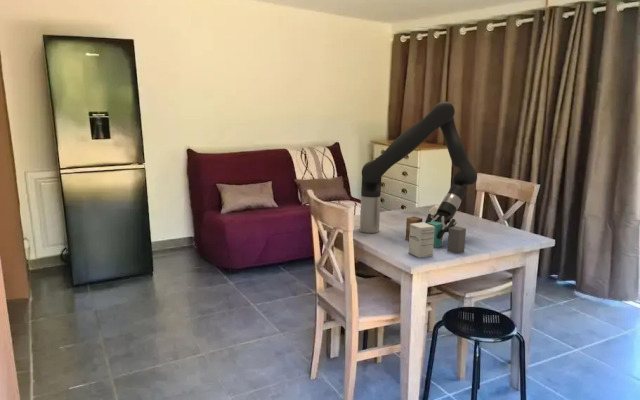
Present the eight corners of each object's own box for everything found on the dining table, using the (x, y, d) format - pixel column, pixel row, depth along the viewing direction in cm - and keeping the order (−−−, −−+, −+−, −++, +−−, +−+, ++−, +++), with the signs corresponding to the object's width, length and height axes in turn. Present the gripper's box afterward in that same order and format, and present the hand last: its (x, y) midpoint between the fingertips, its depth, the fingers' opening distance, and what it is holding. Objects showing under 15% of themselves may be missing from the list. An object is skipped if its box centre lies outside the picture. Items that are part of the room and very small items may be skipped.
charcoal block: (457, 253, 205) (459, 230, 203) (447, 250, 209) (448, 228, 207) (464, 251, 208) (466, 228, 206) (453, 248, 212) (455, 226, 210)
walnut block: (414, 241, 221) (415, 220, 219) (405, 239, 225) (406, 218, 222) (421, 239, 224) (422, 218, 222) (412, 237, 228) (413, 216, 226)
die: (449, 222, 260) (445, 205, 264) (445, 217, 253) (441, 200, 257) (434, 225, 263) (430, 209, 267) (429, 221, 256) (426, 204, 260)
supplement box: (407, 252, 205) (409, 223, 202) (422, 250, 208) (424, 221, 206) (418, 258, 199) (420, 227, 196) (433, 256, 202) (435, 226, 199)
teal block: (435, 247, 213) (436, 225, 211) (425, 245, 217) (427, 222, 215) (441, 245, 216) (443, 223, 214) (432, 242, 220) (433, 221, 218)
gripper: (432, 198, 223) (415, 228, 217) (460, 203, 212) (443, 235, 207) (438, 208, 227) (421, 237, 222) (466, 213, 217) (449, 245, 211)
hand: (432, 236), depth 214 cm, fingers open, 5 cm apart
